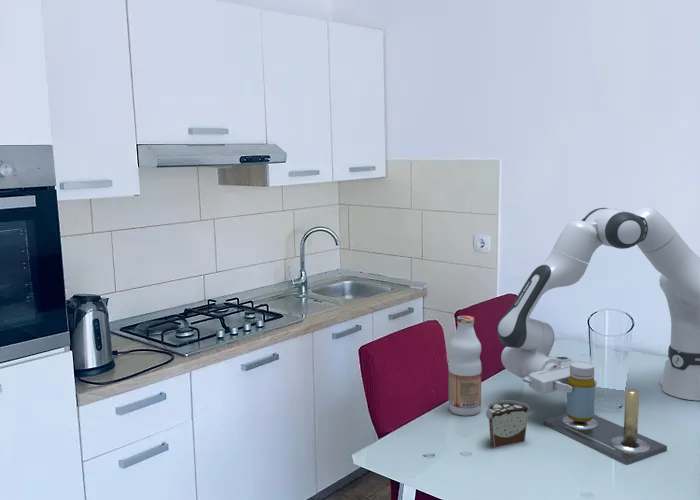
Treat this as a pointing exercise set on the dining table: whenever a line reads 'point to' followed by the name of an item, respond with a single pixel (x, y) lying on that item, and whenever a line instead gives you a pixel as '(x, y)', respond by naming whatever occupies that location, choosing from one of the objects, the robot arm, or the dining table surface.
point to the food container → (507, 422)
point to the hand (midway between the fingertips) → (583, 386)
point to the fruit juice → (465, 369)
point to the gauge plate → (611, 433)
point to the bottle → (581, 392)
